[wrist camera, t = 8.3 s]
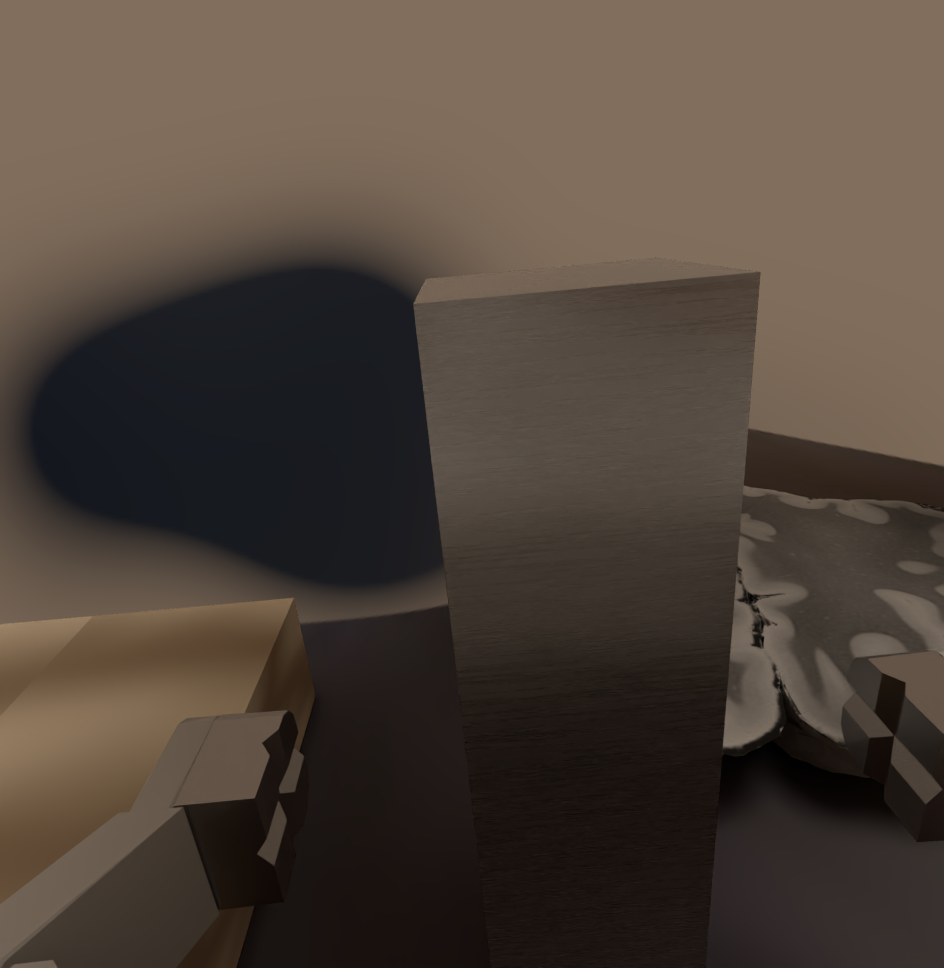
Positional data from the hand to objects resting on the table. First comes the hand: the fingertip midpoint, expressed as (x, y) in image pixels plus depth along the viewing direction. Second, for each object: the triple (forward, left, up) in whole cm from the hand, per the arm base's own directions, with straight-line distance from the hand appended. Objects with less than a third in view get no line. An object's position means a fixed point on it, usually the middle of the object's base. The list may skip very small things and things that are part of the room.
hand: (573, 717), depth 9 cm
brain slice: (-14, +2, -8) cm, 17 cm away
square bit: (-1, 0, -8) cm, 8 cm away
